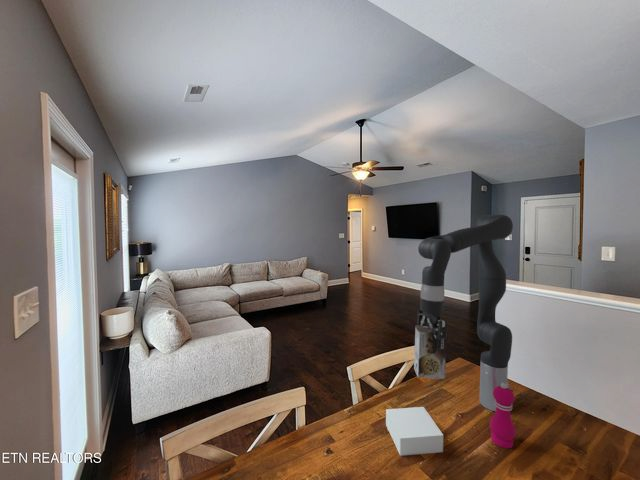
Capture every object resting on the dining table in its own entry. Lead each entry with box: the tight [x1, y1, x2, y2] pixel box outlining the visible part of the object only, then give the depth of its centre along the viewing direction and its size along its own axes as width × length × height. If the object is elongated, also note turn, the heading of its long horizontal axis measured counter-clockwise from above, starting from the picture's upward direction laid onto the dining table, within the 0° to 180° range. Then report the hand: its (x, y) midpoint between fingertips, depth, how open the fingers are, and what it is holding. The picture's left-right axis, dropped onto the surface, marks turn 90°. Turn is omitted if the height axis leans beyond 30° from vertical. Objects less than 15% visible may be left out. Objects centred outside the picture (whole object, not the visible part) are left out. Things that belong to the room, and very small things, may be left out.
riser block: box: [385, 406, 444, 457], centre depth 98 cm, size 14×14×6 cm
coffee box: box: [413, 324, 448, 380], centre depth 100 cm, size 9×6×16 cm
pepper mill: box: [489, 383, 516, 449], centre depth 96 cm, size 7×7×20 cm
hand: (430, 344), depth 100 cm, fingers closed on coffee box, 7 cm apart
